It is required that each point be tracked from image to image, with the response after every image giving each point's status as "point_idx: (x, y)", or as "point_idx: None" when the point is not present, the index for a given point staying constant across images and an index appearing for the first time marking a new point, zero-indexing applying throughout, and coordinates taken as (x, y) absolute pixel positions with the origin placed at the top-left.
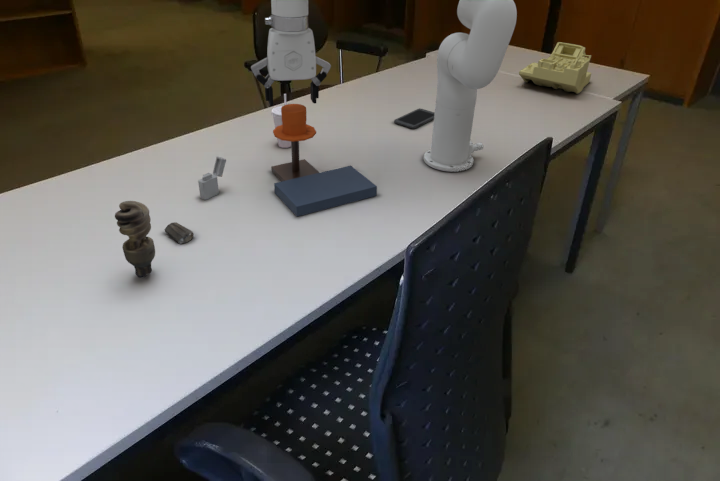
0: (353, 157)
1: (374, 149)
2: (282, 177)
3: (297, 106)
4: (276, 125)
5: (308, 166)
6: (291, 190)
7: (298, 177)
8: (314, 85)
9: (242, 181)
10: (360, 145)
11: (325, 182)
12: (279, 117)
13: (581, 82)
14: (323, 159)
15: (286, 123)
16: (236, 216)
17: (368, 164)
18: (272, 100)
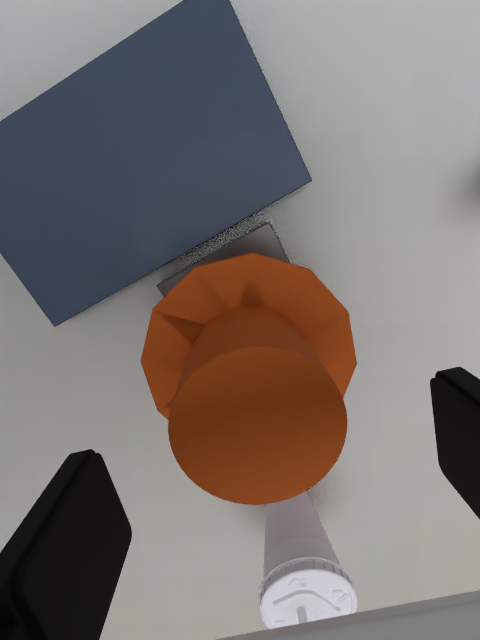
0: (74, 430)
1: (16, 482)
2: (284, 254)
3: (233, 459)
4: (326, 539)
5: None
6: (246, 120)
7: (230, 255)
8: (2, 618)
9: (408, 261)
10: None
11: (128, 190)
12: (322, 560)
13: None
14: None
15: (296, 333)
16: (425, 4)
17: (21, 387)
18: (462, 394)
